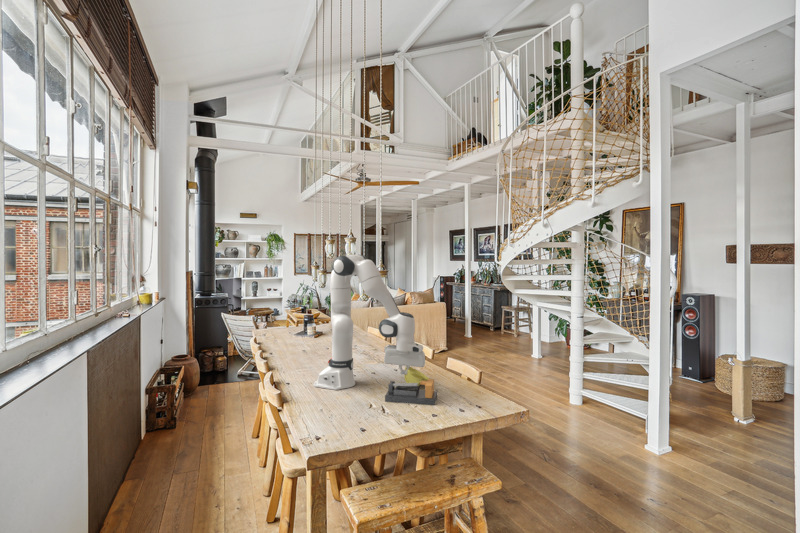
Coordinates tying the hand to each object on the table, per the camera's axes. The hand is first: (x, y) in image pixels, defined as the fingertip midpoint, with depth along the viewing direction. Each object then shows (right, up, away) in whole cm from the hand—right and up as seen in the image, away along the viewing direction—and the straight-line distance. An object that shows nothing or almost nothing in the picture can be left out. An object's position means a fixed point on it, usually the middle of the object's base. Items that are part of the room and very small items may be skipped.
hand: (404, 374), depth 193 cm
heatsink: (+4, -12, 0) cm, 13 cm away
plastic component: (+8, -12, +24) cm, 28 cm away
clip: (+11, -9, -2) cm, 14 cm away
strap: (0, -6, 0) cm, 6 cm away
